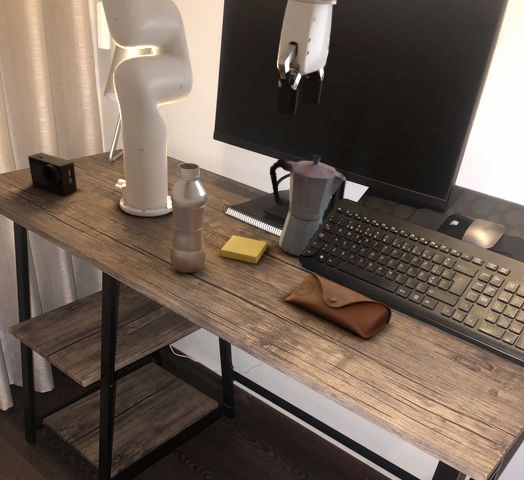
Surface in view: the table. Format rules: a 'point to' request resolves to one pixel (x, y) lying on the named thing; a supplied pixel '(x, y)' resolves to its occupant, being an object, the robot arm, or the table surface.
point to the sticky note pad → (244, 249)
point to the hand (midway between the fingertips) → (298, 108)
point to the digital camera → (52, 173)
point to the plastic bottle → (188, 219)
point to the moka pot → (304, 199)
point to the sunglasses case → (341, 306)
